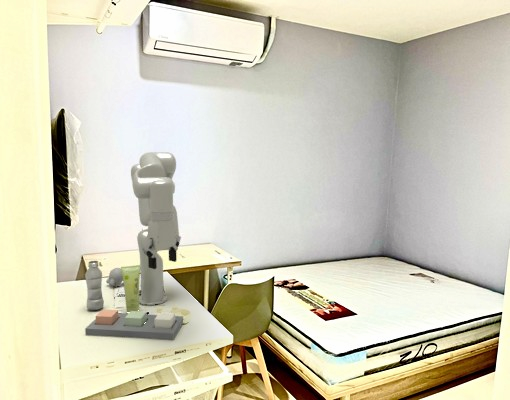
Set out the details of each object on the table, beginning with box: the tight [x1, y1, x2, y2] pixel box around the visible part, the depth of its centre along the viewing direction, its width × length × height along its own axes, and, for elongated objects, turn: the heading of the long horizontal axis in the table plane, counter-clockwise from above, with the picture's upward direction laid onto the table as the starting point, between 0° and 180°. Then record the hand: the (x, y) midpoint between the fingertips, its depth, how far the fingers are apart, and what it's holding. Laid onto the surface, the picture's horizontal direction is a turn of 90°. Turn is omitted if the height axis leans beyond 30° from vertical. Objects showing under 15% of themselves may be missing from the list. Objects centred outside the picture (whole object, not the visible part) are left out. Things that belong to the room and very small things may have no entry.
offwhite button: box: [154, 311, 176, 329], centre depth 151 cm, size 6×6×4 cm
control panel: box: [84, 312, 184, 341], centre depth 152 cm, size 14×32×2 cm, turn 85°
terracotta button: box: [95, 309, 119, 325], centre depth 153 cm, size 6×6×4 cm
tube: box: [120, 264, 141, 313], centre depth 165 cm, size 6×5×20 cm
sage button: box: [125, 310, 148, 327], centre depth 152 cm, size 6×6×4 cm
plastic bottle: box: [84, 260, 105, 311], centre depth 168 cm, size 6×7×20 cm
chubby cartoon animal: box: [105, 267, 123, 288], centre depth 197 cm, size 7×12×8 cm, turn 126°
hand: (162, 264), depth 143 cm, fingers open, 9 cm apart
